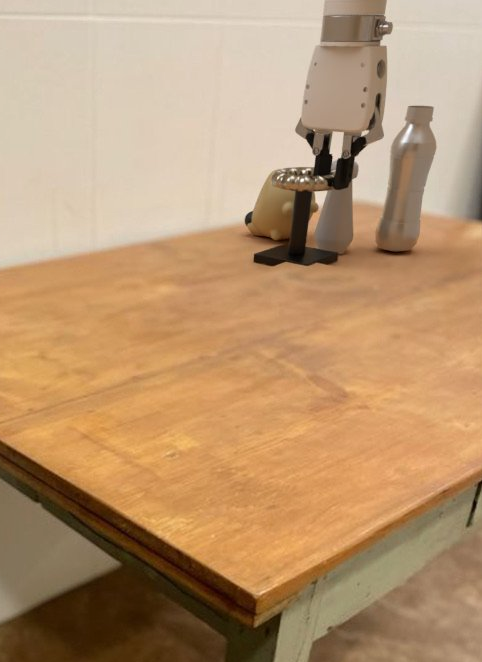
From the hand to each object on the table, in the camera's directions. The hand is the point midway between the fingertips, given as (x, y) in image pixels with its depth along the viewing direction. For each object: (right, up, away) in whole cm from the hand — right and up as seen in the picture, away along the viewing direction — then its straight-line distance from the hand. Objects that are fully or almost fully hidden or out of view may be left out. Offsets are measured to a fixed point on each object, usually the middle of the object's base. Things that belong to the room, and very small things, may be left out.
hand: (331, 186), depth 113 cm
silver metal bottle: (+14, -5, +14) cm, 20 cm away
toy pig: (-3, 0, +21) cm, 21 cm away
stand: (-3, -8, +8) cm, 12 cm away
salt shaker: (+4, -5, +13) cm, 15 cm away
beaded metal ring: (-3, +2, +2) cm, 4 cm away
